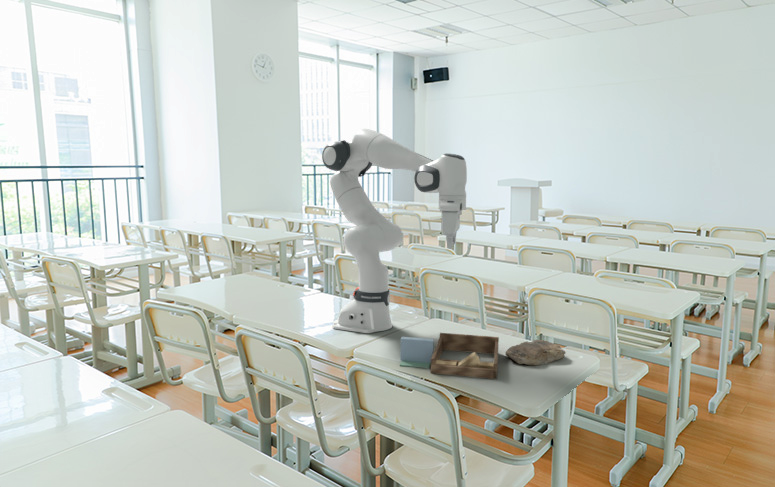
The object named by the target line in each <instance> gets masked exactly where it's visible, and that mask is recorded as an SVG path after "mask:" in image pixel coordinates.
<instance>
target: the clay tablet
mask: <svg viewBox="0 0 775 487" xmlns="http://www.w3.org/2000/svg"><path fill="white" fill-rule="evenodd" d="M565 354H566V351H565V350H564V349H562V347H561V346H560V345H559V344H555V343H553V342H550V341H547V340H544V339H543V340H542V339H535V340H532V341H524V342H521V343H520V344H519V343H518V344H516V345H512V346H511V347H509V348H508V349H507V350H506V351H505V356H507V357H508V359H511V360H513V361H514V362H515V363H517V364H518V365H523V364H524V365H527V366H541V365H546V364H549V363H552V362H555V361H558V360H562V359H564V357H565Z"/></svg>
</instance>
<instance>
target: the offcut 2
mask: <svg viewBox="0 0 775 487" xmlns="http://www.w3.org/2000/svg"><path fill="white" fill-rule="evenodd" d="M473 367H474V368H486V369H493V367H494V362H489V361H480V362H479V363H477V364H476V365H474V366H473Z"/></svg>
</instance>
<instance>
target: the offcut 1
mask: <svg viewBox="0 0 775 487" xmlns="http://www.w3.org/2000/svg"><path fill="white" fill-rule="evenodd" d="M435 364H440V365H451V366H457V362H454V361H442V360H437V361H436V363H435Z"/></svg>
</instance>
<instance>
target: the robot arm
mask: <svg viewBox="0 0 775 487" xmlns="http://www.w3.org/2000/svg"><path fill="white" fill-rule="evenodd" d="M321 158H322V162H323V165H324V166H325V168H327V169H329V170H331V171H334V174H332V175H331V177H330V180H329V184H330V188H331V191H332V193H333V196H334V199H335V201H336V202H337V204H338V206H339V208H340V210H341V212H342V213H343V216H344V217H345V219H346V220H347V221H348V222H349V223H351V224H353V225H355V226H353V227H350V228H348V229H347V230H346V231H345V233H344V236H343V245H344V248H345V249H346V251H347V252H348V253H349V254H350V255H351V256H352V257H353V259H354V260H355V264H356V267H357V270H358V271H357V273H358V287H356V288H355V290H353V292H352V296H353V299H352V300H350V301H349V302H347V303H346V304H345V305H343V307H341V309H340V311H339V314H338V318H336V319H335V320H334V321H333V322H332V328H333V329H335V330H342V331H347V332H348V331H350V332H353V333H354V332H355V333H356V332H357V333H361V334H362V333H363V334H372V333H376V332H383V331H387V330H390V329H392V328H393V323H392V319H391V314H390V302H391V299H390V298H391V292H390V289H389V269H388V267H387V266H386V265H385V264H384V263H382V262H381V258H380V253H384V252H389V251H392V250H394V249H396V248H397V247H399V246H400V245H401V244H402V242H403V231H402V228H400V227H401V226H399V225H398V224H396V223H394V222H392V221H391V220H389V219H387V217H385V216H384V215H383V214H382V213H381V212H380V211H379V210H377V208H375V206H374V205H373V203H372V202H371V200H370V199H369V197H368V194H367V193H366V192H365V190H364V188H363V186H362V185H361V183H360V181H359V178H361V177H364V176H365V175H366V173H367V171H369V170H370V169H371V168H372V166H373V165H374V166H376V167H378V168H379V167H380V168H382V169H385V170H405V171H406V170H407V171H411V172H415V173H414V177H413V180H414V181H413V182H414V184H415V187H416V188H417V190H418V191H420V192H422V193H426V194H436V193H438V210H439V212H441V214H440V215H441V229H442V234H443V236H445V237H446V238H445V239H446V248H447V249H453V247H454V246H453V245H455V244H456V242H457V241H456V239H457V234H458V231H459V230H460V227H461V226H460V224H461V215H462V214H463V211H465V210H466V209H467V192H466V185H467V181H468V180H467V178H468V177H467V176H468V172H467V163H466V162H467V161H466V159H465V158H464V157H463V156H462V155H459V154H455V153H443V154H441V156H439V157H438V158H437V159H435V160H433V159H431V158H428V157H427V156H424V155H422V154H420V153H418V152H415V151H413V150H411V149H410V148H408V147H406V146H405V145H403V144H401V143H399V142H397V141H395V140H394V139H392V138H390V137H388V136H387V135H386V134H383V133H381V132H379V131H375V130H372V129H368V128H361V129H360V130H357V132H356V133H355V134H354V135H353V137H352V140H350V141H347V140H344V139H342V140H339V141H334V142H330V143H328V144H326V146H324V148H323V150H322V154H321Z"/></svg>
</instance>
